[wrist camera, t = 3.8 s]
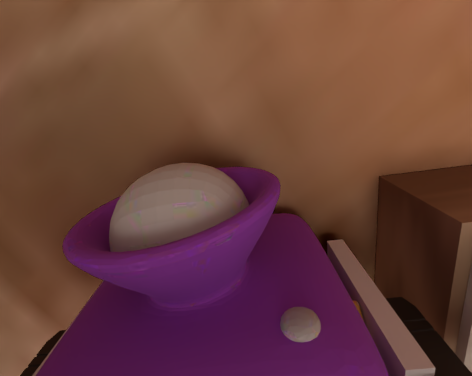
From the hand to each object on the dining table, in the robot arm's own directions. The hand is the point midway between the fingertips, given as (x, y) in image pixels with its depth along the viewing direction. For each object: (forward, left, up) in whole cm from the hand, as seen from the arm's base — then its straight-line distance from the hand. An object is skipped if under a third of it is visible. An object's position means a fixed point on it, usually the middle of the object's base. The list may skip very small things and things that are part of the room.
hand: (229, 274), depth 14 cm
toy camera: (0, 0, -1) cm, 1 cm away
